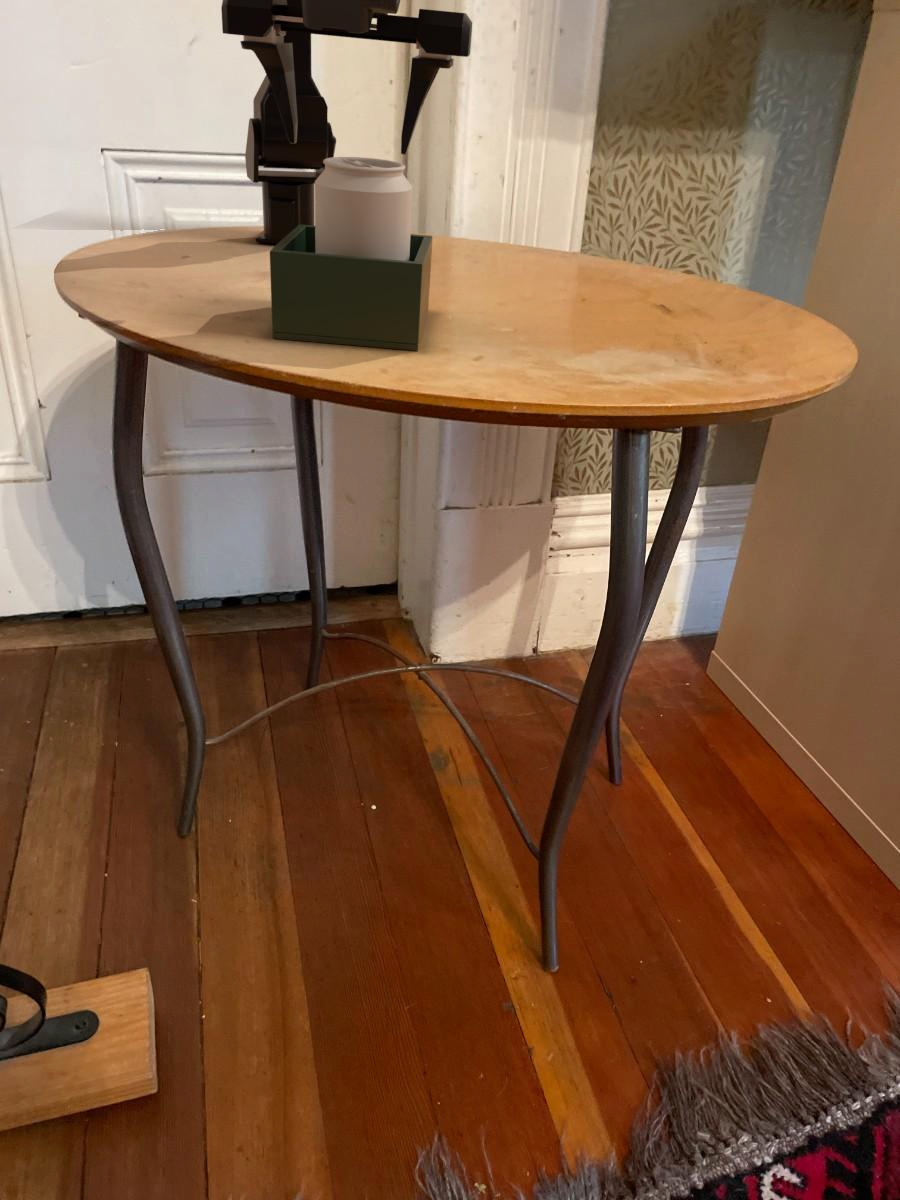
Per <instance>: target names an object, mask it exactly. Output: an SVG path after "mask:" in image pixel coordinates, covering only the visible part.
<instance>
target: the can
mask: <svg viewBox="0 0 900 1200" xmlns="http://www.w3.org/2000/svg"><path fill="white" fill-rule="evenodd" d="M323 163H324V164H325V170H324V171H323V172H322V173H321V175H320V176H319V177H318V178H317V179H316V181H315V184H314V205H315V253H321V254H332V255H344V256H355V257H367V258H379V259H390V260H402V261H409V257H410V236H411V234H412V213H413V212H412V211H413V194H414V193H413V191H414V189H413V188H414V187H413V186H412V185H411V182H409V180H408V179H407V177H406V176H405V175H404V171H405V169H406V165H405V164H403V163H401V162H398V161H394V160H390V159H389V160H388V159H381V158H374V157H363V156H362V157H359V156H334V157H332V158H326V159H325V160H324V161H323Z"/></svg>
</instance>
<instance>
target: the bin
mask: <svg viewBox="0 0 900 1200" xmlns="http://www.w3.org/2000/svg"><path fill="white" fill-rule="evenodd" d="M432 251H433V235H427V234H414V233H411V236H410V257H409V261H402V260H390V259H379V258H367V257H355V256H344V255H332V254H321V253H315V226H312V225H300V224H299V225H298V226H297V227H296V228H295V229H294V230H293V231H291V232H290V233H289V234H288V235H287V236H286V237H285V238H284V239H283V240H281V241H280V242H279V243H278V244H276V245H275V246H274V247H272V248H271V250H269V267H270V268H269V269H270V270H269V271H270V273H269V274H270V275H269V276H270V300H271V301H270V302H271V304H270V305H271V327H272V328H271V329H272V332H271V333H272V339H274V340H275V339H276V340H289V341H299V342H309V343H311V342H313V343H321V344H333V345H347V346H356V347H369V348H379V349H380V348H381V349H391V350H393V349H394V350H404V351H412V352H413V351H415V352H418V351H419V347H420V344H421V341H422V337H423V334H424V329H425V326H426V322H427V318H428V315H429V306H430V305H429V304H430V303H429V302H430V289H431V288H430V287H431V286H430V285H431V272H432V271H431V269H432V253H433V252H432Z"/></svg>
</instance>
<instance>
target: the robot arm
mask: <svg viewBox="0 0 900 1200" xmlns="http://www.w3.org/2000/svg"><path fill="white" fill-rule="evenodd" d="M400 5H401V0H222V2H221V28H222V29H221V30H222V34H225V35H232V36H233V35H235V36H243V40H240V41H239V42H240V46H241V49H243V50H248V51H249V50H250V51H252V52H253V53H254V55H255V56H256V58H257V59H258V61H259V63H260V64H261V67H262V68H263V70H264V72H265V74H266V75H265V76H264V78H263V80H262V82H261V84H260V86H259V87H258V90H257V92H256V94H255V96H253V97H254V98H253V104H252V105H253V118H250V117H249V120H248V128H247V134H246V135H247V136H246V143H245V144H246V145H245V154H244V155H245V157H244V159H245V160H244V161H245V169H246V171H245V172H246V177H247V178H248V179H249V180H250V181H251V182H252V183H253V184H258V183H261V190H262V191H261V192H262V193H261V195H262V221H263V222H262V223H263V230H262V231H261V232H260V233H259V234H257V235H256V236H255V237H254V241H255V243H265V244H276V245H277V244H278V243H279V242H280V241H281V240H283V239H284V238H285V237H286V236H287V235H288V234H289V233H290V232H291V231H293V230H294V229H295V228H296V227H297V226H298V225H299V224H300V225H312V226H315V181H316V179H317V178H318V177H319V176H320V175H321V173H322V172H323V171H324V170H325V164H324V163H323V161H324V160H325V159H326V158H332V157H335V151H336V146H337V138H336V136H335V135H334V133H333V128H332V125H331V122H329V121H328V120H329V119H328V118H329V117H328V111H329V109H328V108H329V107H328V104H327V102H326V99H325V97H324V96H322V94H321V93H320V90H319V89H318V87H317V85H316V83H315V81H314V78H313V75H312V74H313V73H312V35H321V36H328V37H329V36H331V37H340V38H341V37H342V38H352V39H361V40H370V41H371V40H372V41H382V42H383V41H384V42H393V43H404V44H413V45H414V44H415V49H416V50H418V55H415V56H413V57H412V58H411V64H410V73H409V74H410V76H409V84H408V85H409V86H408V90H407V96H406V102H405V109H404V116H403V123H402V127H401V128H402V129H401V137H400V138H401V139H400V141H401V143H400V154H401V155H407V154H408V150H409V147H410V145H411V142H412V138H413V135H414V133H415V130H416V127H417V124H418V122H419V121H418V120H419V118H420V115H421V112H422V109H423V106H424V103H425V101H426V98H427V96H428V94H429V92H430V91H431V90H430V89H431V88H432V85H433V84H434V82H435V79H436V77H437V75H438V72H439V71H440V69H446V70H447V69H449V70H450V69H451V68H452V67H453V66H454V58H452V57H463V58H468V57H470V55H471V47H472V33H473V21H472V19H471V18H470V16H469V15H468V14H467V13H466V12H459V11H458V12H457V11H447V10H439V9H438V10H437V9H426V8H419V9H418V16H417V17H415V16H406V15H405V16H404V15H397V13H398V11H399V7H400ZM373 19H375V20H376V23H373ZM259 167H263V169H265V170H263V169H259ZM266 169H292V170H266ZM293 169H294V170H299V171H294V170H293ZM300 170H315V171H300Z"/></svg>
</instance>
